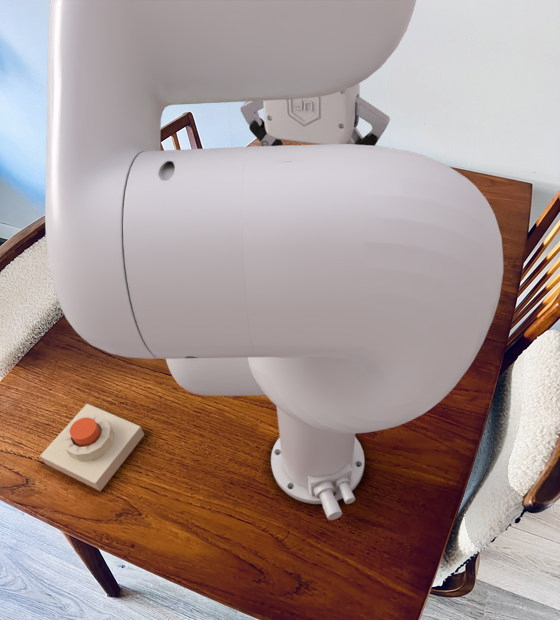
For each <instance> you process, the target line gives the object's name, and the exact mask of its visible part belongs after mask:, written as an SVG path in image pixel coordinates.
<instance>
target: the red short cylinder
mask: <svg viewBox="0 0 560 620" xmlns="http://www.w3.org/2000/svg"><path fill="white" fill-rule="evenodd" d="M70 435H71V437H72V438H73V440H74V441H75V443H76V444H77V445H79V446H89V445H91V444H93V443H94V442H96V441H97V440H98V438H99V436H100V429H99V427H98V425H97V424H96V422H95V421H94V420H93V419H91V418H81V419H79V420H77V421H76V422H74V423H73V425H72V426H71V428H70Z"/></svg>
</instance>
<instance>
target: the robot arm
mask: <svg viewBox="0 0 560 620" xmlns="http://www.w3.org/2000/svg"><path fill="white" fill-rule="evenodd" d="M416 3H417V0H49V11H48V12H49V13H48V33H47V34H48V35H47V36H48V37H47V38H48V39H47V76H46V78H47V81H46V83H47V87H46V93H47V94H46V139H45V146H46V147H45V148H46V149H45V191H44V194H45V195H44V196H45V197H44V198H45V200H44V201H45V202H44V223H45V224H44V225H45V228H44V229H45V239H46V240H45V242H46V253H47V263H48V270H49V273H50V277H51V281H52V286H53V290H54V293H55V297H56V299H57V302H58V304H59V307H60V309H61V311H62V313H63V315H64V317H65V319H66V320H67V322H68V323H69V325H70V327H72V329H73V330H74V332H76V334H78V335H79V337H81V338H82V340H84V341H85V342H87V343H88V344H89V345H91V346H92V347H94V348H97V349H99V350H101V351H104V352H106V353H108V354H111V355H115V356H120V357H124V358H129V359H131V358H132V359H145V360H147V359H148V360H151V359H152V360H165V362H166V365H167V367H168V370H169V372H170V374H171V376H172V377H173V379H174V380H175V382H176V383H177V384H178V385H179V386H180V387H181V388H182V389H183V390H184V391H187V393H188V392H189V393H191V394H194V395H197V396H198V395H199V396H205V397H206V396H207V397H254V396H255V397H257V396H266V398H268V399H269V400H270V402H271V403H272V404H273V405H274V406H276V415H277V424H278V433H279V436H278V438H277V439H276V441H275V443H274V445H273V448H272V450H271V455H270V465H271V471H272V475H273V478H274V480H275V482H276V484H277V485H278V486H279V488H280V489H281V490H282V491H283V492H285V494H287V496H290V497H291V498H293V499H295V500H297V501H299V502H303V503H306V504H310V505H322V508H323V511H324V514H325V516H326V518H327V520H328V521H334V520H338V519H339V518H340V517H341V516H342V515H343V512H342V509H341V507H340V505H339V502H338V501H340V500H342V499H343V501H344V503H345V505H350V504H353V502H355V501H356V498H355V495H354V493H353V491H354V490H355V489H356V488H357V486H358V485H359V484H360V482H361V480H362V477H363V474H364V471H365V459H366V458H365V454H364V453H365V452H364V450H363V447H362V445H361V443H360V441H359V439H358V438H357V437H356V434H367V433H372V432H378V431H379V432H380V431H383V430H388V429H392V428H396V427H398V426H402V425H403V424H407V423H409V422H410V421H413V420H415V419H417V418H418V417H420V416H422V415H424V414H425V413H427V412H428V411H430V410H432V408H434V407H435V406H436V405H437V404H439V403H440V402H441V401H442V400H443V399H444V398H445V397H447V396H448V395H449V394H450V392H452V390H453V389H454V388H455V387H456V386H457V384H458V383H459V382H460V381H461V379H462V378H463V376H464V375H465V374H466V372H467V371H468V370H469V368H470V367H471V366H472V364H473V362H474V360H476V357H477V356H478V353H479V352H480V349H481V347H482V346H483V345H484V341H485V340H486V337H487V335H488V333H489V330H490V327H491V325H492V323H493V320H494V318H495V315H496V311H497V308H498V306H499V301H500V298H501V291H502V285H503V284H502V283H503V277H504V252H503V251H504V250H503V239H502V234H501V231H500V227H499V223H498V220H497V218H496V214H495V212H494V210H493V208H492V206H491V205H490V203H489V201H488V199H487V198H486V197H485V195H483V193H482V191H480V190H479V188H478V187H477V186H476V185H475V184H474V183H473V182H472V181H471V180H470V179H468V177H466V176H464V175H463V174H462V173H460V172H459V171H457V170H456V169H453V168H452V167H451V166H449V165H447V164H445V163H443V162H440V161H439V160H437V159H434V158H432V157H430V156H426V155H424V154H421V153H417V152H414V151H410V150H405V149H399V148H394V147H387V146H383V145H377V143H378V141H379V140H380V139H381V137H382V135H383V134H384V132H385V131H386V129H387V128H388V126H389V124H390V122H391V118H390V117H389V115H388V114H386V113H384V112H383V111H382V110H380V109H378V108H377V107H375V106H374V105H372V104H371V103H369V102H368V101H366V100H365V99H363V98H362V97H361V89H360V88H361V87H360V85H361V84H360V83H362V82H364V81H366V80H367V79H368V78H370V77H371V76H372V75H373V74H375V73H376V72H377V71H378V70H379V69H381V68H382V67H383V66H384V64H385V63H386V62H387V61H388V59H389V58H390V57H391V56H392V55H393V53H394V52H395V51H396V50H397V49H398V47H399V45H400V43H401V41H402V40H403V37H404V36H405V34H406V32H407V31H408V28H409V25H410V22H411V20H412V17H413V14H414V11H415V7H416ZM242 102H243V104H242V105H241V107H240V112H241V114H242V116H243V119H245V122H246V123H247V124H248V126H249V128H248V129H249V131H250V132H251V134H253V136H255V137H256V138H257V140H258V141H259V142H260V145H258V146H257V145H251V146H236V147H235V146H232V147H213V148H212V147H210V148H193V149H192V148H190V149H169V150H167V149H166V150H162V149H161V148H162V147H161V129H162V127H161V126H162V116H163V112H164V110H165V109H166V108H167V107H169V106H178V105H179V106H180V105H198V104H199V105H200V104H219V103H221V104H222V103H242ZM262 109H263V119H262V118H261V117H260V114H259V111H261V110H262ZM360 118H361V119H362V120H364V121H365V122H366V123H368V124H370V126H371V130H370V131H369V132H368V133H367V134H366V135H364V136H363V135H362V134H361V132H360V130H359V129H358V128H357V127H358V125H359V121H360ZM283 141H285V142H292V143H301V144H299V145H297V144H296V145H295V144H290V145H287V144H286V145H283V143H284V142H283Z"/></svg>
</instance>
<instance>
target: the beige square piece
mask: <svg viewBox="0 0 560 620" xmlns="http://www.w3.org/2000/svg"><path fill="white" fill-rule="evenodd" d="M81 418H91V419H93V420H94V421H95V422H96V424H97V425H98V427H99V429H100V436H99V438H98V440H97V441H96V442H94V443H93V444H91V445H89V446H79V445H77V444H76V443H75V441H74V440H73V438H72V437H71V435H70V428H71V426H72V425H73V423H74V422H76V421H77V420H79V419H81ZM144 436H145V433H144V431H143V428H142V426H140V425H138V424H136V423H134V422H132V421H129V420H127V419H124V418H122V417H119V416H117V415H115V414H113V413H110V412H108V411H106V410H103V409H101V408H99V407H96V406H94V405H91V404H89V403H86V404H85V405H84V406H83V407H82V408H81V409H80V411H79V412H78V413H77V414H76V415H75V416H74V417H73V418H72V419H71V420H70V422H68V424H67V425H66V426H65V427H64V429H62V430H61V432H60V433H59V434H58V435H57V436H56V437H55V438H54V439H53V440H52V441H51V442H50V444H49V445H48V446H47V447H46V448H45V450H44V451H43V452H42V453H41V454H40V455H39V457H40V458H41V460H42V461H43V462H44V464H45V465H46V466H48V467H50V468H52V469H55V470H56V471H59V472H61V473H63V474H65V475H66V476H69V477H71V478H73V479H75V480H77V481H79V482H81V483H83V484H85V485H87V486H89V487H91V488H93V489H94V490H97V491H99V492H101V491H102V490H103V489H104V487H105V486H107V484H108V482H109V481H110V480H111V479H112V477H113V476H114V475H115V473H116V472H117V471H118V470H119V469H120V467H121V465H123V463H124V462H125V461H126V459H127V458H129V457H128V456H129V455H130V454H131V453H132V451H134V449H135V448H136V446H137V445H138V444H139V443H140V441H142V439H143V437H144Z"/></svg>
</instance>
